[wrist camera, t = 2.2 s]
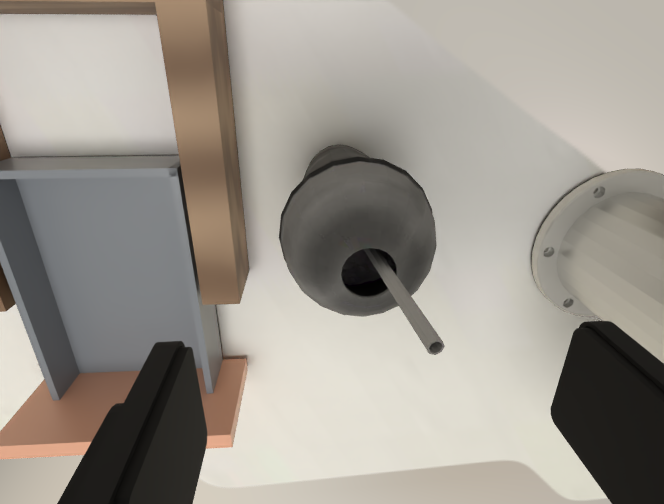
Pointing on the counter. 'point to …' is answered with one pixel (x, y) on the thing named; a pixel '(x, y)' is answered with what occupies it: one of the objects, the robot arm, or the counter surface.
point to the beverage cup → (360, 237)
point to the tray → (104, 294)
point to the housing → (186, 131)
